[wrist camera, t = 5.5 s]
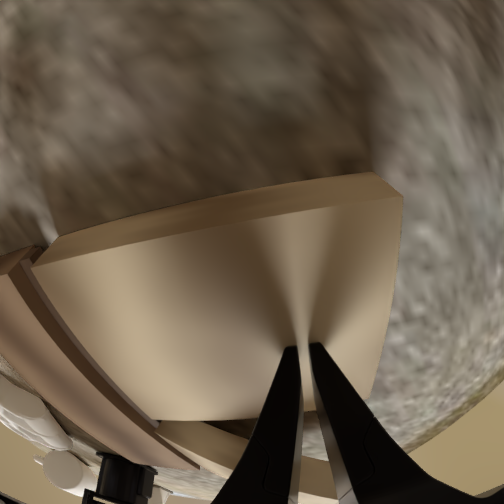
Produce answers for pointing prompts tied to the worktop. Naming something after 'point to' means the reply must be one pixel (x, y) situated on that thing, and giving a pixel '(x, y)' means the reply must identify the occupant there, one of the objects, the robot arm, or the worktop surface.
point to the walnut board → (72, 369)
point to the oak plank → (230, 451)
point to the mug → (67, 472)
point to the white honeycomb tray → (30, 417)
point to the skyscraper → (159, 495)
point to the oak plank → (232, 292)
